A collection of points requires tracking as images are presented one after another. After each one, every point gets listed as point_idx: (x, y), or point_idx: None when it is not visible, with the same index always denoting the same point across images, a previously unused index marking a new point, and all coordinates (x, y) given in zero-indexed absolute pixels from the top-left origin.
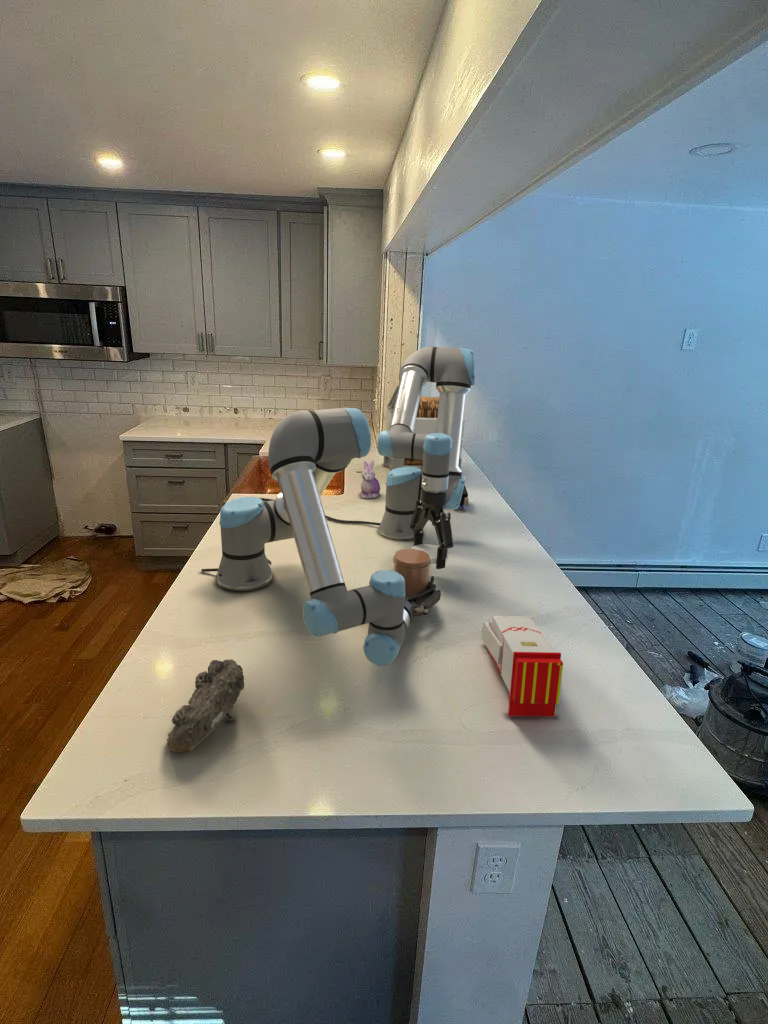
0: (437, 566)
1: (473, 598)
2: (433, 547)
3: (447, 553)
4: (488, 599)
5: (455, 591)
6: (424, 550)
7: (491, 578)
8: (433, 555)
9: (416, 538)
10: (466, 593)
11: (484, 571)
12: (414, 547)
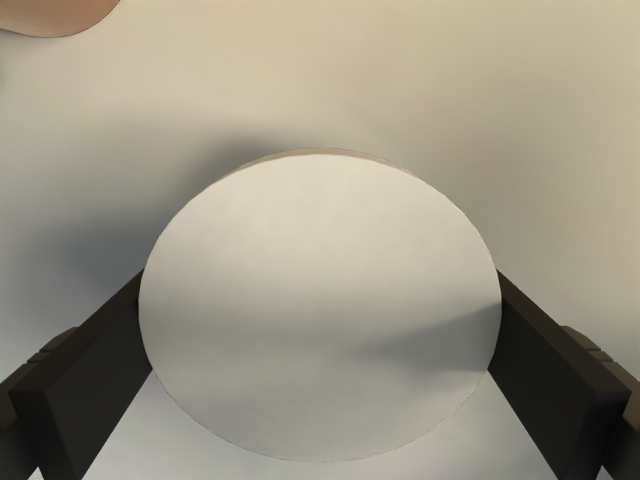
0: (144, 268)
1: (33, 302)
2: (373, 406)
3: (213, 429)
4: (12, 351)
5: (121, 272)
6: (355, 309)
7: (188, 463)
8: (214, 316)
9: (550, 359)
10: (88, 304)
11: (255, 476)
12: (467, 266)
